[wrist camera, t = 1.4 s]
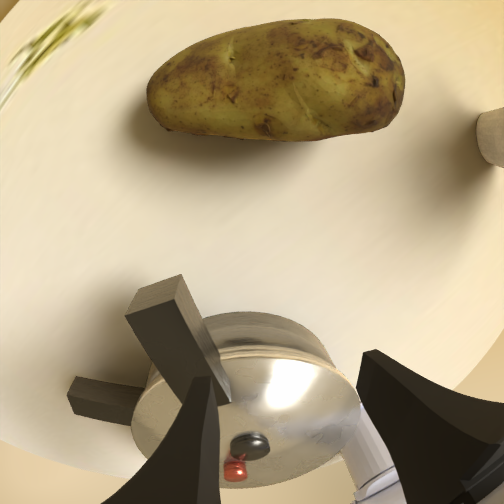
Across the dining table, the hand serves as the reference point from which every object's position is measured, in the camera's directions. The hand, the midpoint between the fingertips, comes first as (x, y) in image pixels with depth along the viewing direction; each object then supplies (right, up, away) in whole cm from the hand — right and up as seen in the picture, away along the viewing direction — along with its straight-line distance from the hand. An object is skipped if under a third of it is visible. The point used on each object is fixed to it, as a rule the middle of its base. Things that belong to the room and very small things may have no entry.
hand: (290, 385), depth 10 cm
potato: (-1, +15, +6) cm, 17 cm away
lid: (-3, -6, +7) cm, 10 cm away
